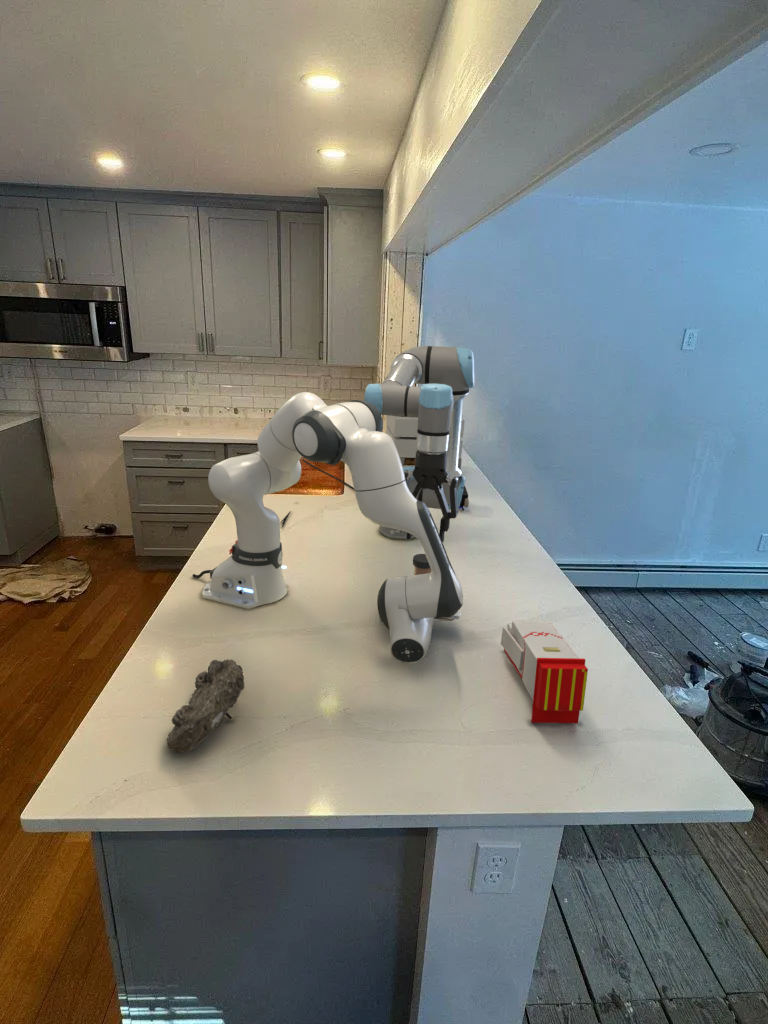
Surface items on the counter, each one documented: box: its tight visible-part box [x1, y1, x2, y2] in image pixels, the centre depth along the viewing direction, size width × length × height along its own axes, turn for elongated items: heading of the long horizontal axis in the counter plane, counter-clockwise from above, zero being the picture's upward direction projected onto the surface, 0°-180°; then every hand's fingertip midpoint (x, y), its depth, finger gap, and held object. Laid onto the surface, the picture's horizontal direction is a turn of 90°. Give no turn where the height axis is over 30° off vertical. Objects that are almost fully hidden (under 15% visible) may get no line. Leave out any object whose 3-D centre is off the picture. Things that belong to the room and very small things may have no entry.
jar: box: [413, 565, 432, 575], centre depth 147 cm, size 5×5×15 cm
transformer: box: [385, 415, 465, 471], centre depth 268 cm, size 34×33×41 cm
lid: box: [412, 553, 431, 569], centre depth 144 cm, size 6×6×2 cm
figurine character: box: [458, 485, 470, 512], centre depth 229 cm, size 7×8×15 cm
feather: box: [280, 510, 292, 528], centre depth 213 cm, size 2×28×2 cm
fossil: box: [166, 658, 245, 754], centre depth 106 cm, size 22×10×15 cm
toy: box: [500, 620, 589, 724], centre depth 121 cm, size 12×13×30 cm
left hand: (421, 588), depth 148 cm, fingers closed on jar, 4 cm apart
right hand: (425, 539), depth 142 cm, fingers open, 7 cm apart
